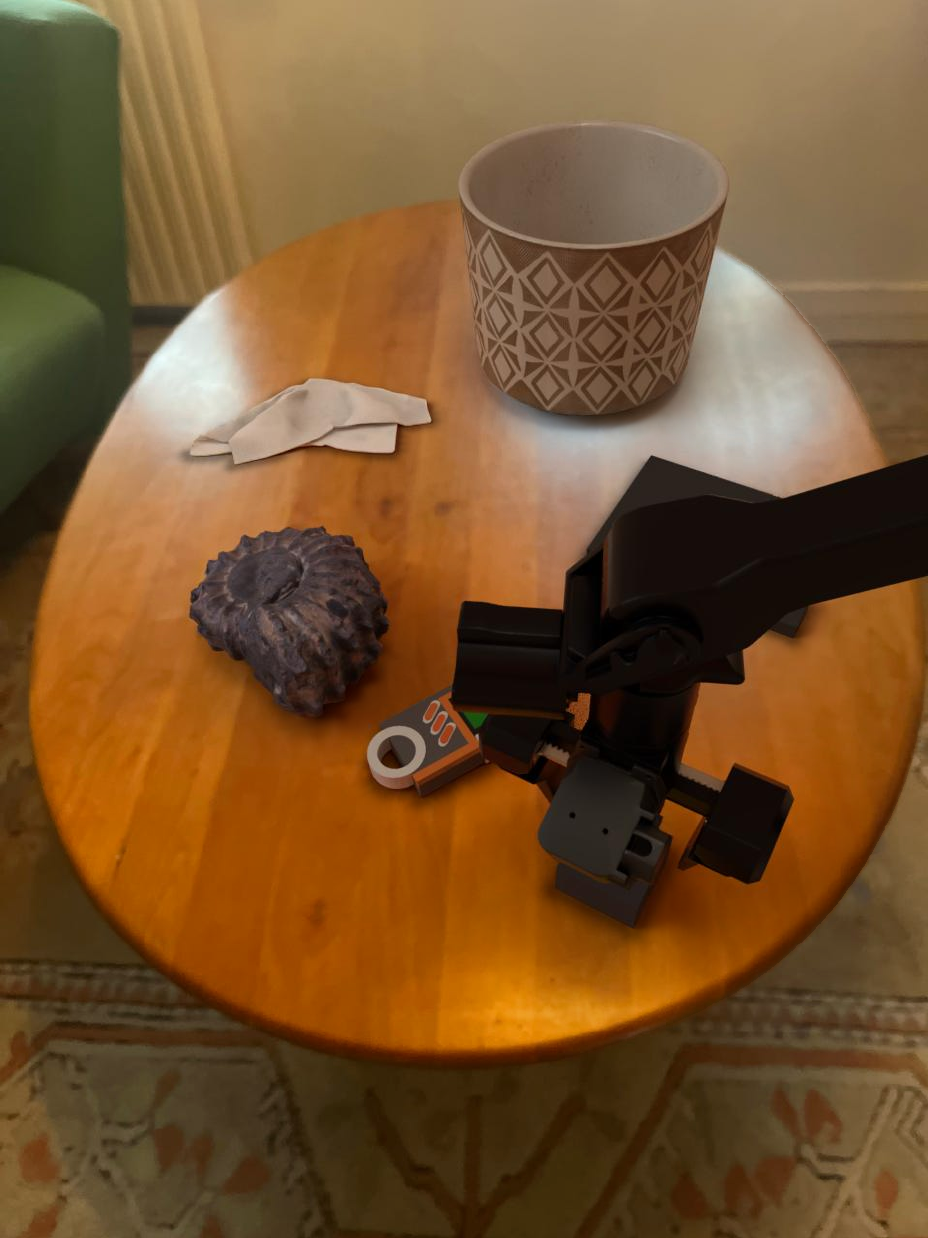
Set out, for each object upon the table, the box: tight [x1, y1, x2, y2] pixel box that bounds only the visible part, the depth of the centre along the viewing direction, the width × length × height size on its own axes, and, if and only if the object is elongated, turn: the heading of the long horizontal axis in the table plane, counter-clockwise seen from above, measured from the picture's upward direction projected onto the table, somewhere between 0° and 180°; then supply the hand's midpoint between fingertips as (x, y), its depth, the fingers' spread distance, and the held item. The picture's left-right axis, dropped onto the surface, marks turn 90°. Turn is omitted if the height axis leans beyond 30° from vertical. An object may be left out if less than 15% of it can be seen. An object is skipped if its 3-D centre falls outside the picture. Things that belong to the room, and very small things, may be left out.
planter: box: [458, 119, 730, 416], centre depth 101 cm, size 26×26×22 cm
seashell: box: [188, 525, 390, 718], centre depth 81 cm, size 20×13×15 cm
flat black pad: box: [585, 455, 809, 639], centre depth 90 cm, size 20×15×2 cm
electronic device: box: [366, 683, 491, 798], centre depth 77 cm, size 7×3×15 cm
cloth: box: [189, 377, 432, 466], centre depth 104 cm, size 26×14×2 cm, turn 91°
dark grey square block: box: [554, 834, 674, 929], centre depth 68 cm, size 6×6×4 cm
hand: (619, 833), depth 65 cm, fingers open, 9 cm apart
